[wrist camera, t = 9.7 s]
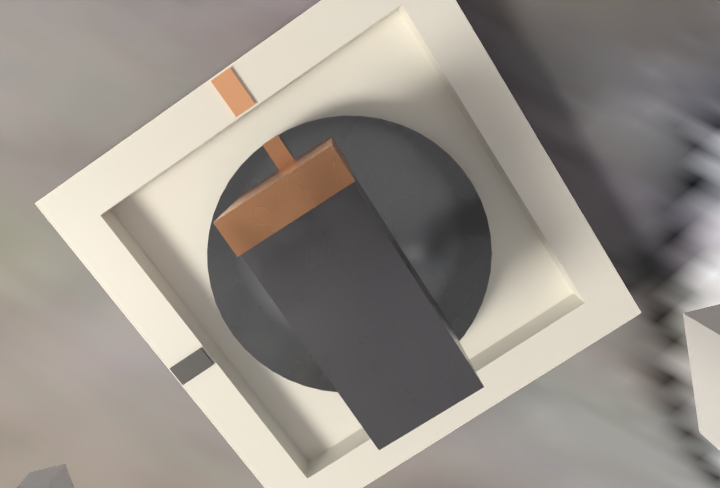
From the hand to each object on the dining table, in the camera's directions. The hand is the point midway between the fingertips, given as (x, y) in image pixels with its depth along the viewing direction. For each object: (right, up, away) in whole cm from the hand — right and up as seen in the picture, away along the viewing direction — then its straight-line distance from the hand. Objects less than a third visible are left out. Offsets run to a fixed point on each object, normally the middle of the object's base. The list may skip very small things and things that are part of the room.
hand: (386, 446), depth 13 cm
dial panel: (-1, +4, +18) cm, 19 cm away
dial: (-1, +4, +17) cm, 17 cm away
